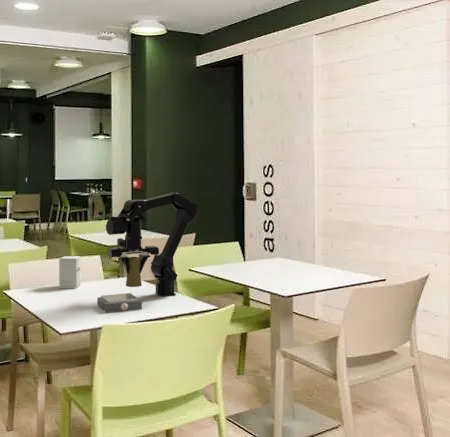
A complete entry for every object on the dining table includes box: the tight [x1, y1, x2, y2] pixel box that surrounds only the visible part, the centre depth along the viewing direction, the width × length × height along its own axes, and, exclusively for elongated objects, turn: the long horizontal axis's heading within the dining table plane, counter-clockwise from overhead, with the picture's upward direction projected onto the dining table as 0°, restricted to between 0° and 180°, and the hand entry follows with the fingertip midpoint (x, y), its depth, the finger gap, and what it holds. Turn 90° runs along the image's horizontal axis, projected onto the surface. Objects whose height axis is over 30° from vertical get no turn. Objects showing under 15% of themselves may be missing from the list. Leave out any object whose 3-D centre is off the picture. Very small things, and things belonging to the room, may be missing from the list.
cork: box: [125, 256, 142, 288], centre depth 236 cm, size 6×6×11 cm
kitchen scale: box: [97, 292, 143, 313], centre depth 223 cm, size 13×12×4 cm
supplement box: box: [58, 255, 81, 289], centre depth 259 cm, size 7×7×13 cm
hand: (133, 273), depth 236 cm, fingers closed on cork, 4 cm apart
